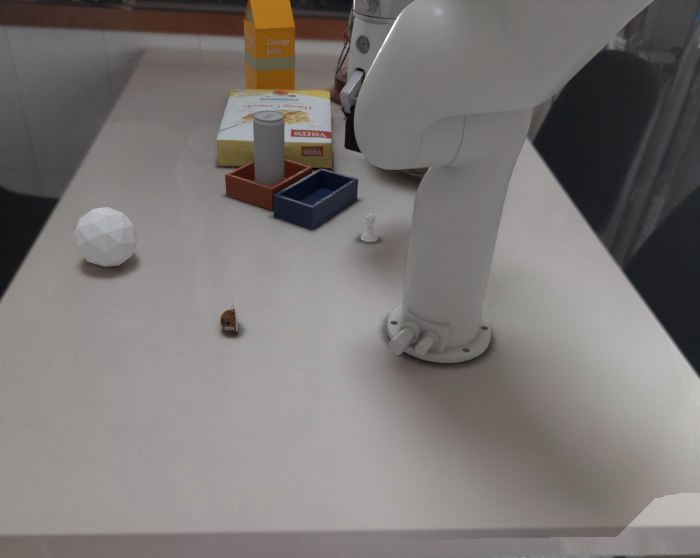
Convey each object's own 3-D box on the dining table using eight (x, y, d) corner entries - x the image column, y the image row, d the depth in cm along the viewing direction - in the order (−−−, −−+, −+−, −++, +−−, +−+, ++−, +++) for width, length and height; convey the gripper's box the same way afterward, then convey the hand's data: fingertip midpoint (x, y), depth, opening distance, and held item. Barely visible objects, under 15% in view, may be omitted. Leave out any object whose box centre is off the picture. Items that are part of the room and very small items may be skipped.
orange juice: (245, 89, 160) (242, -10, 148) (282, 86, 163) (282, -11, 151) (256, 100, 154) (254, -2, 143) (295, 96, 158) (296, -3, 146)
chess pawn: (377, 236, 107) (379, 211, 105) (378, 242, 106) (380, 218, 103) (360, 235, 107) (361, 211, 105) (360, 242, 106) (362, 217, 103)
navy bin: (312, 229, 108) (312, 207, 106) (273, 216, 111) (273, 195, 108) (357, 199, 117) (358, 179, 115) (320, 188, 120) (320, 167, 118)
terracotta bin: (272, 210, 112) (272, 189, 110) (226, 195, 116) (224, 174, 114) (312, 187, 120) (312, 166, 118) (267, 173, 124) (267, 153, 121)
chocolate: (222, 322, 87) (220, 294, 85) (240, 322, 87) (239, 294, 85) (218, 336, 85) (217, 308, 82) (237, 337, 85) (236, 308, 83)
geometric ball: (127, 274, 100) (158, 231, 97) (93, 283, 92) (126, 236, 90) (87, 237, 100) (117, 193, 97) (51, 243, 93) (82, 195, 90)
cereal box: (330, 88, 145) (334, 139, 122) (329, 116, 148) (334, 170, 126) (229, 86, 144) (215, 137, 121) (230, 114, 147) (217, 168, 125)
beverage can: (249, 189, 117) (246, 116, 109) (265, 179, 120) (264, 107, 113) (274, 196, 115) (273, 122, 108) (290, 186, 118) (290, 114, 111)
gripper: (376, 21, 80) (365, 166, 90) (442, -2, 92) (426, 128, 103) (320, 9, 83) (316, 152, 93) (391, -12, 95) (380, 116, 105)
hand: (373, 139), depth 98 cm, fingers open, 9 cm apart
